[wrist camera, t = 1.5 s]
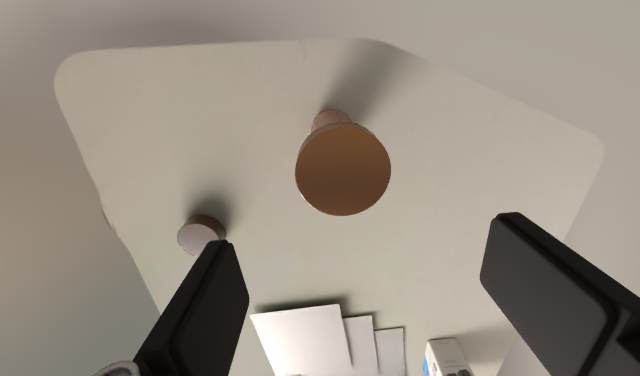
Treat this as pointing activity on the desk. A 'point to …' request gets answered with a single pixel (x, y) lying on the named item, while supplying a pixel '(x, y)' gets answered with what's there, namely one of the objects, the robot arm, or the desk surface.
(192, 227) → the walnut chip
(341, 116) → the terracotta cup
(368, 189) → the oak chip
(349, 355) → the paper stack
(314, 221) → the desk surface
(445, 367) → the ink box
